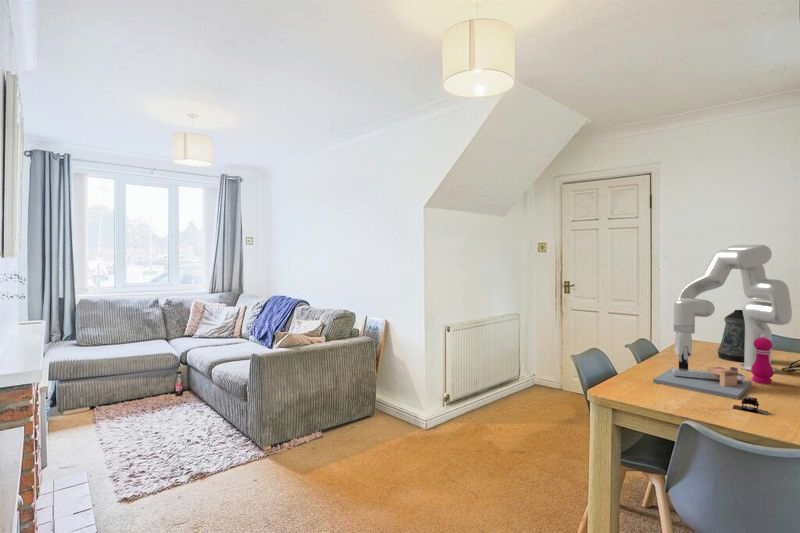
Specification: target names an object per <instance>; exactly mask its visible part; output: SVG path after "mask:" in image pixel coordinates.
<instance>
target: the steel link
mask: <svg viewBox="0 0 800 533" xmlns="http://www.w3.org/2000/svg"><path fill="white" fill-rule="evenodd" d="M672 368H673V372H672V373H673V375H674V376H683V377H694V378H704V379H715V380H720V375H718V374H715V373H711V372H708V370H703V369H702V370H701V369H692V368H688V369H681V368H679V367H672ZM729 370H732V371H736V372H737V382H745V381H746V380H745V379H746V378H745V375H743V374H742V373H738V372H739V371H738V370H739V369H738V367H734V366H730V368H729Z"/></svg>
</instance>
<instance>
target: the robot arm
mask: <svg viewBox="0 0 800 533" xmlns="http://www.w3.org/2000/svg"><path fill="white" fill-rule="evenodd" d="M771 258H772V250H771V248H770V247H769V246H767V245H765V244H734V245H729V246H727V247H726V248H725V249H720V250H717V251H715V253H714V254H713V255H712V257H711V259H710V260H709V263H708V264H707V266H706V268H705V269H704V272H703V273H702V275H701V276H700V277H698V278H696V279H695V280H693V281H692V282H691V283H689V284H687V285H686V286H685V287H684V288H683V289H682V291H681V293H680V294H679V296H678V298H677V299H676V300H674V303H673V332H674V333H675V340H674V353H675V354H676V355H677V356H678V368H681V369H689V357H690V358H691V357H692V347H693V346H692V345H693V344H692V342H693V340H692V339H693V338H692V336H693V334H695V331H696V328H695V327H696V326H695V324H696V323H695V321H696V317H699V318H700V317H701V318H708V317H710V316H712V315H714V312H715V305H714V303H713V302H711V301H710V300H707V299H703V298H702V299H700V298H697V297H698V296H699V295H701V294H702V293H705V292H708V291H711V290H716V289H718V288H721V287H723V286H724V285H725V283H726V281H727V279H728V277H729V275H730V273H731V271H732V270H739V271H740V276H741V280H742V288H743V293H744V295H745V297H746V298H748V299H751V300H753V301H748V302H746V303H745V304H744V305H743V307H742V310H743V316H744V321H745V350H744V363H741V364H740V365H739V368H740V369H743V370H745V371H749V372H751V368H752V365H753V364H754V362H755V360H756V353H755V349H756V348H755V346H754V341H755V340H756V339H758V338H761V337H760V336H761V335H762V334H764V335H765V336H766V339H768V340H770V341H771V342H772V337H773V335H772V329H771V328H770V326H769V325H768V324H770V325H778V326H784V325H785V326H786V325H787V324H789V323H791V321H792V318H793V311H792V303H791V296H790V289H789V287H788V284H787V283H786V282H785V281H783V280H780V279H770V278H769V279H768V278H767V275H766V271H765V267H764V265H766V264H767V263H768V262H769V261H771ZM757 300H758V301H757ZM769 301H770V302H769ZM770 351H771V352H770V353H771V354H769V362H770V364H771V365H772V348H771V349H770ZM772 368H773V372H774V373H776V369H775V368H774V367H772Z"/></svg>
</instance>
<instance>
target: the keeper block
mask: <svg viewBox="0 0 800 533" xmlns="http://www.w3.org/2000/svg"><path fill="white" fill-rule="evenodd" d="M707 371H708V372H711V373H715V374H718V375H720V385H722V386H735V385H737V372H736V371H732V370H730V368H729V369H728V368H725V367H720V366H718V367H717V366H714V367H707Z"/></svg>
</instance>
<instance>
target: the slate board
mask: <svg viewBox="0 0 800 533" xmlns="http://www.w3.org/2000/svg"><path fill="white" fill-rule="evenodd" d="M673 368H674V367H672V368H671V369H669V370H667V371H665V372H663V373H661V374H659V375H658V376H656V377H654V378H653V379H652V382H653V384H654V383H655V384H659V385H664V386H669V387H674V388H678V389H682V390H688V391H693V392H699V393H703V394H707V395H712V396H718V397H723V398H729V399H733V400H739V399H740V398H741V397H742V396H743V395H744V394H745V393H746V392H747V391H748V390H749V389H750V388H751V387H752V383H753V381H750V380H745V382H737V385H735V386H722V385H720V380H715V379H704V378H694V377H683V376H674V375H673V373H672V372H673ZM750 386H751V387H750Z"/></svg>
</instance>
